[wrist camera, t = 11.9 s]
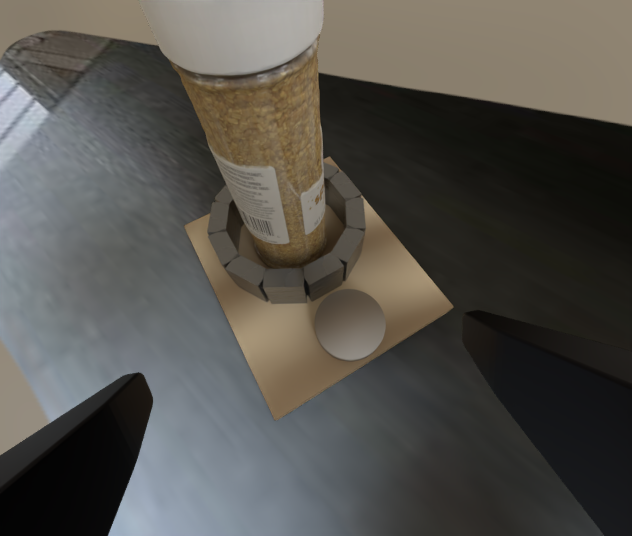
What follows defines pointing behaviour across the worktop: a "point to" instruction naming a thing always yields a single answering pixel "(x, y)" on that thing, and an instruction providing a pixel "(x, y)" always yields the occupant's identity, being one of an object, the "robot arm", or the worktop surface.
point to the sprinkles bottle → (256, 110)
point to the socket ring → (292, 281)
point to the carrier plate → (324, 313)
